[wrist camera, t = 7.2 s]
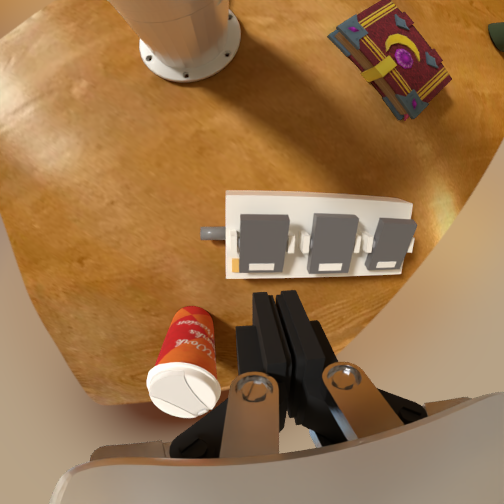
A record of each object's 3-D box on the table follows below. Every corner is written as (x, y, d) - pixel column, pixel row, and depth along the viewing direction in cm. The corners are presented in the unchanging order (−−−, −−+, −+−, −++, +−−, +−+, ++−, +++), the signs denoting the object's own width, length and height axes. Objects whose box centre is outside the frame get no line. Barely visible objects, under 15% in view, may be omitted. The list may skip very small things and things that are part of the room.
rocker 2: (377, 216, 32) (383, 223, 31) (412, 218, 32) (418, 225, 31) (362, 262, 36) (367, 270, 35) (395, 262, 37) (400, 269, 35)
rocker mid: (312, 212, 32) (316, 217, 30) (354, 213, 32) (360, 218, 31) (305, 267, 35) (308, 274, 34) (344, 266, 35) (349, 273, 34)
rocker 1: (239, 212, 30) (239, 220, 29) (288, 213, 31) (291, 221, 30) (237, 264, 35) (238, 273, 34) (281, 263, 35) (283, 272, 34)
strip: (201, 190, 35) (196, 198, 30) (397, 198, 38) (422, 207, 32) (203, 266, 39) (199, 286, 33) (387, 263, 41) (408, 280, 35)
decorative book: (374, 5, 28) (389, -7, 23) (440, 88, 32) (460, 85, 28) (325, 37, 30) (338, 25, 25) (400, 127, 35) (420, 126, 30)
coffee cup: (232, 326, 42) (236, 402, 28) (192, 353, 44) (183, 428, 30) (194, 287, 40) (180, 358, 26) (153, 318, 41) (128, 390, 27)
